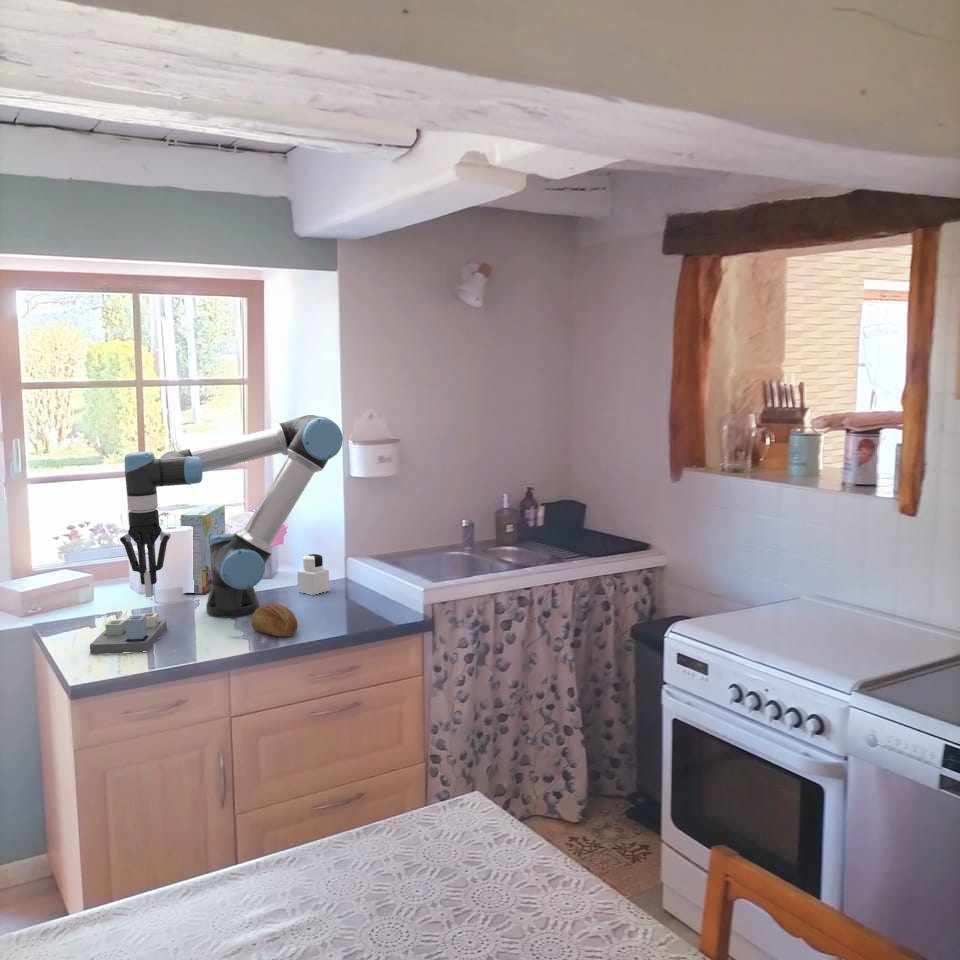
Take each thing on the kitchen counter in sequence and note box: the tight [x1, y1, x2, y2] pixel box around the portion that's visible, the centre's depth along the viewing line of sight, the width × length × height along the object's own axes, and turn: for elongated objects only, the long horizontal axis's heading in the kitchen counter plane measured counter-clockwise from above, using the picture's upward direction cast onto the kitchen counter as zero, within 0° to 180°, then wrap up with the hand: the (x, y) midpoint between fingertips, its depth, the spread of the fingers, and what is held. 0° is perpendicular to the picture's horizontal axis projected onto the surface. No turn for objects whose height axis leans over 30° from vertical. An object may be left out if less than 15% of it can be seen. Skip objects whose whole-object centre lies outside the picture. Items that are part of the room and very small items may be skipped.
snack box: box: [180, 504, 226, 595], centre depth 295 cm, size 22×9×26 cm, turn 179°
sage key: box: [104, 619, 126, 635], centre depth 239 cm, size 4×4×5 cm
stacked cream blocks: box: [297, 553, 330, 596], centre depth 288 cm, size 7×7×12 cm
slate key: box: [124, 615, 147, 639], centre depth 233 cm, size 4×4×5 cm
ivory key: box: [140, 612, 160, 628], centre depth 246 cm, size 4×4×5 cm
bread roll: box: [250, 603, 299, 637], centre depth 246 cm, size 10×15×8 cm, turn 55°
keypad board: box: [89, 619, 168, 655], centre depth 240 cm, size 14×20×2 cm
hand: (150, 595), depth 245 cm, fingers closed
